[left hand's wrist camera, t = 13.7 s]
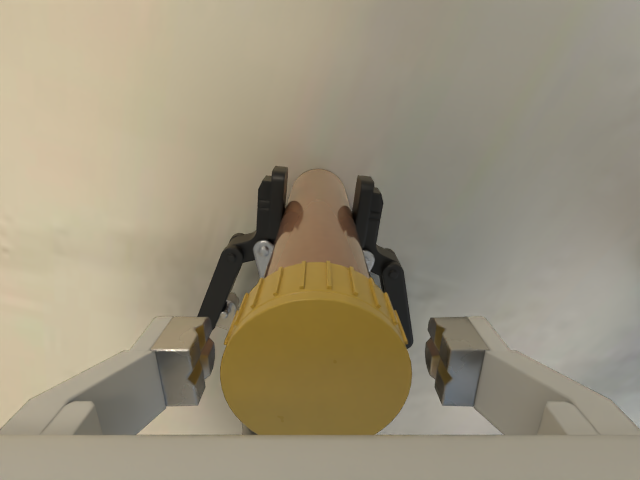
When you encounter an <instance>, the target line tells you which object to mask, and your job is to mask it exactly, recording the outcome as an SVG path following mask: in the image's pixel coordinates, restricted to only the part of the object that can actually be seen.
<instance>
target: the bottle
mask: <svg viewBox="0 0 640 480" xmlns="http://www.w3.org/2000/svg"><path fill="white" fill-rule="evenodd" d="M302 261H306V263H307V262H325V263H326V261H330V263H333V264H337V265H342V266H345V267H347V268H349V267H350V266H351V267H353V268H354V270H355V271H357V272H359V273H361V274H363V275H364V276H366V277H367V278H370V277H371V276H370V273H369V270H368V266H367V263H366V259H365V256H364V253H363V249H362V246H361V242H360V239H359V236H358V232H357V229H356V225H355V222H354V219H353V215H352V212H351V208H350V205H349V202H348V198H347V195H346V191H345V188H344V185H343V183H342V182H341V180H340V179H339V178H338V177H337V176H336V175H335V174H333V173H332V172H330V171H327V170H324V169H313V170H309V171H307V172H305V173H303V174H301V175H300V176H299V177H298V178H297V179H296V181H295V182H294V184H293V186H292V189H291V192H290V195H289V198H288V202H287V205H286V208H285V211H284V214H283V217H282V220H281V223H280V227H279V230H278V233H277V236H276V239H275V242H274V245H273V248H272V252H271V255H270V258H269V261H268V264H267V267H266V270H265V273H264V277H263V279H264V278H266V277H267V276H269V275H270V274H272V273H274V272H276V271H278V269H279V267H283V268H285V267H288V266H292V265H295V264H300V263H302Z"/></svg>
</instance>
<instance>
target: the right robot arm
mask: <svg viewBox="0 0 640 480" xmlns="http://www.w3.org/2000/svg"><path fill="white" fill-rule="evenodd" d="M287 178H288V167H280V166H275V168H274V169H273V171H272V176H266V177H265V178H264V179H263V181H262V183H261V185H260V187H259V189H258V209H257V230H256V231H255V232H253V233H249V234H243V233H237V234H235V235H233V237H232V238H231V240H230V242H229V244H228V246H227V247H226V248H225V249H224V250H223V252H222V254H221V256H220V259H219V262H218V264H217V267H216V269H215V272H214V275H213V277H212V280H211V282H210V285H209V288H208V290H207V293H206V295H205V298H204V301H203V303H202V306H201V308H200V311H199V314H198V316H197V317H209V319H210V320H211V325H212V330H213V329H214V328H215V326H218V327H221V328H223V329H226V330H229V329H230V326H231V324H232V321H233V319H234V316H235V314H236V311H239V299H238V297H237V296H236V294H235V293H233V292H231V290H232V287H233V285H234V283H235V280H236V278H237V275H238V273H239V270H240V268H241V266H242V263H244V262H248V261H253V260H256V264H257V268H258V272H259V276H260V278H263V277H264V273H265V270H266V267H267V264H268V261H269V258H270V255H271V252H272V248H273V245H274V242H275V239H276V236H277V233H278V230H279V227H280V223H281V220H282V217H283V214H284V211H285V205H286V191H287ZM382 207H383V200H382V195H381V193H380V191H379V190H378V188H374V181H373V180H372V178H371V177H369V176H359V175H358V177H357V182H356V189H355V196H354V203H353V209H352V215H353V219H354V222H355V225H356V229H357V232H358V236H359V239H360V242H361V246H362V249H363V253H364V256H365V259H366V263H367V266H368V270H369V273H370V271H371V272H373V273H375V274H377V275H379V277H380V283H381V288H382V292H383V293H385V292H387V294H388V296H389V299H390V301H391V304H392V307H393V310H396V311H397V314H398V317H399V319H400V322H401V325H402V328H403V330H404V333H405V336H406V338H407V341H408V344H406V348H407V349H408V348H410V347H411V346H412V344H413V335H412V328H411V321H410V314H409V307H408V299H407V292H406V285H405V278H404V271H403V269H402V267H401V265H400V263H399V261H398V259H397V257H396V255H395V253H394V251H393V250H391V249H388V248H385V249H384V248H382V247H380V246H378V245H376V241H377V235H378V229H379V224H380V218H381V212H382ZM230 292H231V293H230ZM242 435H258V434H256V433H255V432H253V431H252V430H250V429H249V428H248V427H247V426H245V425H244V424H243V427H242Z"/></svg>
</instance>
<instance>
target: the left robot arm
mask: <svg viewBox="0 0 640 480" xmlns="http://www.w3.org/2000/svg"><path fill="white" fill-rule="evenodd" d="M211 332H212V325H211V320H210V319H209V317H177V316H176V317H174V316H159V317H155V318H154V319H153V321H152V322H151V323H150V324H149V326H148V327H147V328H146V330H145V331H144V332H143V333H142V335H141V336H140V337H139V339H138V340H137V341H136V342H135V344H134V345H133V346H132V347H131V349H130V350H128V351H122V352H120V353H118V354H116V355H114V356H112V357H110V358H108V359H106V360H105V361H103V362H101V363H99V364H97V365H95V366H93V367H91V368H89V369H87V370H85V371H83V372H81V373H80V374H78V375H76V376H74V377H72V378H70V379H68V380H66V381H64V382H62V383H60V384H58V385H56V386H54V387H53V388H51V389H49V390H47V391H45V392H43V393H41V394H39V395H37V396H35V397H33V398H31V399H29V400H28V401H27V402H26V403H25V404H24V405H23V406H22V408H21V409H20V410H19V411H18V412H17V413H16V414H15V415H14V416H13V417H12V418H11V419H10V420H9V421H8V422H7V423H6V424H5V425H4V426H3V427H2V428H1V429H0V480H640V429H639V428H638V427H637V426H636V425H635V424H634V423H633V422H632V421H631V420H630V419H629V418H628V417H627V416H626V415H625V414H624V412H623V411H622V410H621V409H620V408H619V407H618V406H617V405H616V404H615V403H614V402H613V401H612V400H610V399H608V398H606V397H604V396H602V395H601V394H599V393H597V392H595V391H593V390H591V389H589V388H587V387H585V386H583V385H581V384H579V383H578V382H576V381H574V380H572V379H570V378H568V377H566V376H564V375H562V374H560V373H558V372H556V371H555V370H553V369H551V368H549V367H547V366H545V365H543V364H541V363H539V362H537V361H535V360H533V359H532V358H530V357H528V356H526V355H524V354H522V353H520V352H518V351H512V350H510V349H509V348H508V346H507V345H506V344H505V342H504V341H503V340H502V339H501V337H500V336H499V335H498V334H497V332H496V331H495V330H494V328H493V327H492V326H491V325H490V323H489V322H488V321H487V319H486V318H484V317H482V316H471V317H439V318H430V320H429V324H428V332H429V334H430V336H431V338H430V339H429V340H428V341H427V342H426V348H425V358H426V365H427V369H428V372H429V374H430V376H432V377H433V378H434V379H436V380H435V389H436V392H437V394H438V396H439V399H440V401H441V404H442V405H443V406H474V408H475V409H476V410H477V411H478V412H479V413H480V414H481V415H482V416H484V417H485V418H486V419H487V420H488V421H489V422H490V423H491V424H492V425H494V426H495V427H496V428H497V429H498V430H499V431H500V432H501V433H503V434H504V435H136V434H137V433H139V432H140V431H141V430H142V429H143V428H144V427H145V426H146V425H148V424H149V423H150V422H151V421H152V420H153V419H154V418H155V417H157V416H158V415H159V414H160V413H161V412H162V411H163V410H165V409H166V406H196V405H198V404H199V401H200V399H201V396H202V394H203V392H204V389H205V381H204V379H206V378H207V377H208V376H210V374H211V372H212V369H213V365H214V359H215V347H214V342H213V341H212V340H211V339H210V338H209V336H210V334H211Z"/></svg>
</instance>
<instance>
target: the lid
mask: <svg viewBox="0 0 640 480" xmlns="http://www.w3.org/2000/svg"><path fill="white" fill-rule="evenodd" d="M406 344H408V341H407V338H406V336H405V333H404V330H403V328H402V325H401V322H400V319H399V317H398V314H397V311H396V310H393V307H392V304H391V301H390V299H389V296H388V294H387V292H385V293H383V292H382V290H381V289H380V288H379V287H378V286H377V285H376V284H375V283H374V280H373V278H371V277H370V278H367V277H366V276H364V275H363V274H361V273H359V272H357V271H355V270H354V268H353V267H351V266H350V267H349V268H347V267H345V266H342V265H337V264H333V263H330V261H326V263H325V262H307V263H306V261H302V263H300V264H295V265H292V266H288V267H285V268H283V267H279V269H278V271H276V272H274V273H272V274H270V275H269V276H267V277H266V278H264V279H263V278H260V279H259V282H258V284H257V285H256V286H255V287H254V288H253V289H252V290H251V292H250V293H249V294H248V293H246V294H245V295H244V298H243V300H242V303H241V306H240V308H239V311H236V314H235V316H234V319H233V321H232V324H231V326H230V329H229V332H228V334H227V337H226V339H225V342H224V345H227V346H226V348H225V351H224V354H223V357H222V361H221V367H220V380H221V386H222V390H223V393H224V396H225V399H226V401H227V403H228V405H229V407H230V408H231V410H232V411H233V413H234V414H235V415H236V417H237V418H238V419H239V420H240V421H241V422H242V423H243V424H244V425H245V426H247V427H248V428H249V429H250V430H252V431H253V432H255V433H256V434H258V435H375V434H376V433H378V432H379V431H381V430H382V429H383V428H385V427H386V426H387V425H388V424H389V423H390V422H391V421H392V420H393V419H394V418H395V417H396V416H397V414H398V413H399V412H400V410H401V409H402V407H403V405H404V404H405V401H406V399H407V397H408V394H409V390H410V386H411V379H412V368H411V361H410V357H409V354H408V351H407V348H406Z"/></svg>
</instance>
